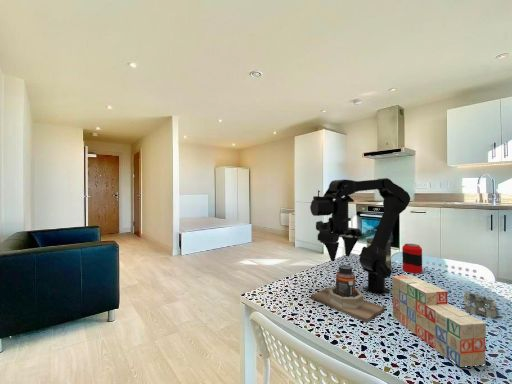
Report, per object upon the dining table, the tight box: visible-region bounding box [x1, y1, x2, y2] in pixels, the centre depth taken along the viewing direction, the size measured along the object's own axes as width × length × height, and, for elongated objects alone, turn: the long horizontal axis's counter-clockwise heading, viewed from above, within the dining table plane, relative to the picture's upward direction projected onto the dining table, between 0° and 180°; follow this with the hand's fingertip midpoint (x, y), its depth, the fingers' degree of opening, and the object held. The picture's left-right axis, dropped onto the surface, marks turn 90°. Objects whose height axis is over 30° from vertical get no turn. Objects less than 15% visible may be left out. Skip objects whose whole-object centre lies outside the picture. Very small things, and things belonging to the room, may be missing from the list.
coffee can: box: [365, 237, 392, 271], centre depth 112 cm, size 10×10×14 cm
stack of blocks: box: [391, 274, 487, 367], centre depth 61 cm, size 21×6×12 cm, turn 6°
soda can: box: [401, 243, 423, 274], centre depth 111 cm, size 8×8×12 cm
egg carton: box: [462, 290, 497, 319], centre depth 75 cm, size 11×8×4 cm
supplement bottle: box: [335, 264, 356, 298], centre depth 79 cm, size 6×6×11 cm
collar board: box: [309, 285, 386, 323], centre depth 79 cm, size 11×20×4 cm, turn 38°
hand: (340, 258), depth 86 cm, fingers open, 9 cm apart
